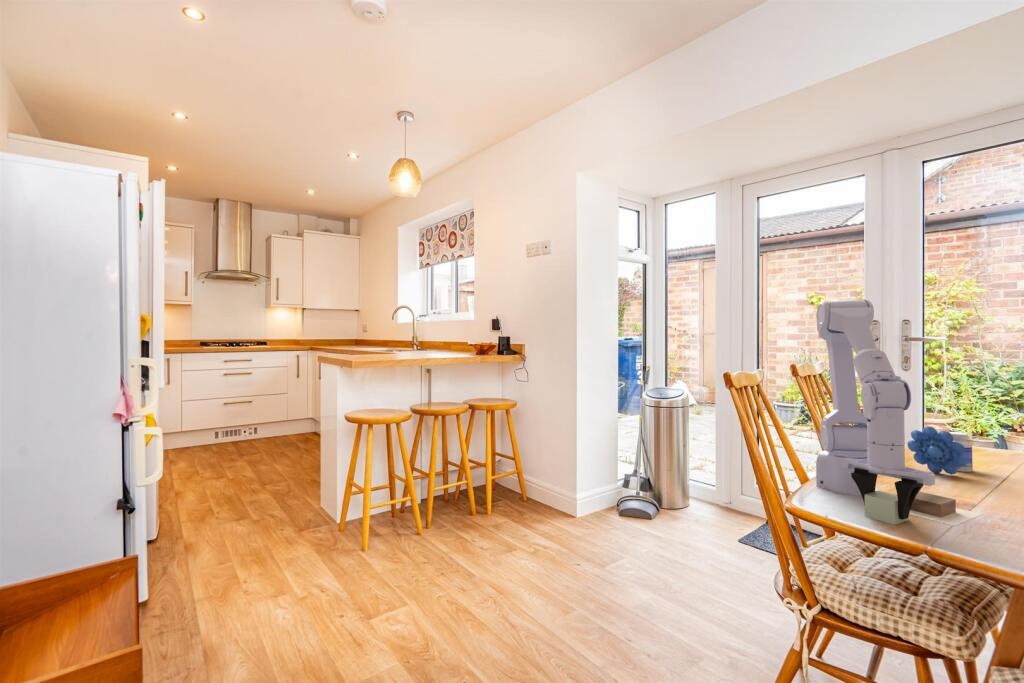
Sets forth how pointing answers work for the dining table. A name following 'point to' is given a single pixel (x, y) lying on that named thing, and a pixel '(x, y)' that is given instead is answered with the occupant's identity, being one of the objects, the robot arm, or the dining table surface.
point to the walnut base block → (933, 504)
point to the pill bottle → (967, 454)
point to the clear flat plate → (949, 516)
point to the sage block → (882, 507)
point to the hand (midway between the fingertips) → (886, 513)
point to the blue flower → (937, 450)
